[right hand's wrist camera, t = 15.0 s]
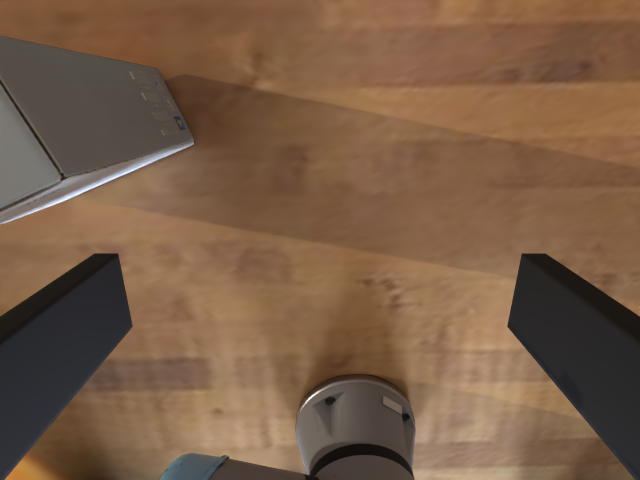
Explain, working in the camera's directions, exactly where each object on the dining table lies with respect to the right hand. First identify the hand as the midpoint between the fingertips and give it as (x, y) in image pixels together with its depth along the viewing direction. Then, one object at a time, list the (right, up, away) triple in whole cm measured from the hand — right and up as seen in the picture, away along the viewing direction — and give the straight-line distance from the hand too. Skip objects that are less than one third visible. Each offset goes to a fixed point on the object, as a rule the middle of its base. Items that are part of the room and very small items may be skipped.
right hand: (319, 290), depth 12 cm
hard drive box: (-21, +12, +25) cm, 34 cm away
